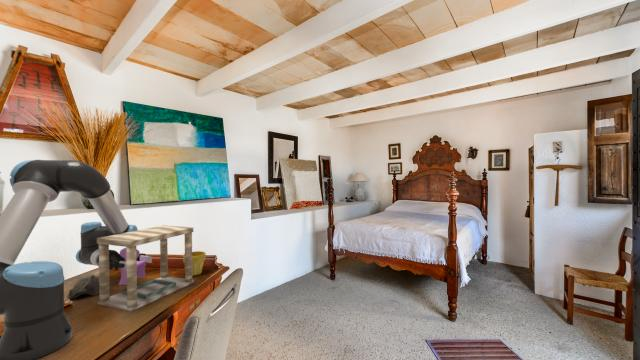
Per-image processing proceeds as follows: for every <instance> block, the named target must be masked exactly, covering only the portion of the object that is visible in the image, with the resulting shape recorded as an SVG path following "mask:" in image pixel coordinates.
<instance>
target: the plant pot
mask: <svg viewBox="0 0 640 360" xmlns="http://www.w3.org/2000/svg"><path fill="white" fill-rule="evenodd" d="M206 254H207V253H206V252H205V251H203V250H202V251H201V250H197V251H192V276H197V275H201V274H202V272H203V267H204V263H205V261H206V256H207V255H206ZM182 262H183V264H185V253H183V255H182Z"/></svg>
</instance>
